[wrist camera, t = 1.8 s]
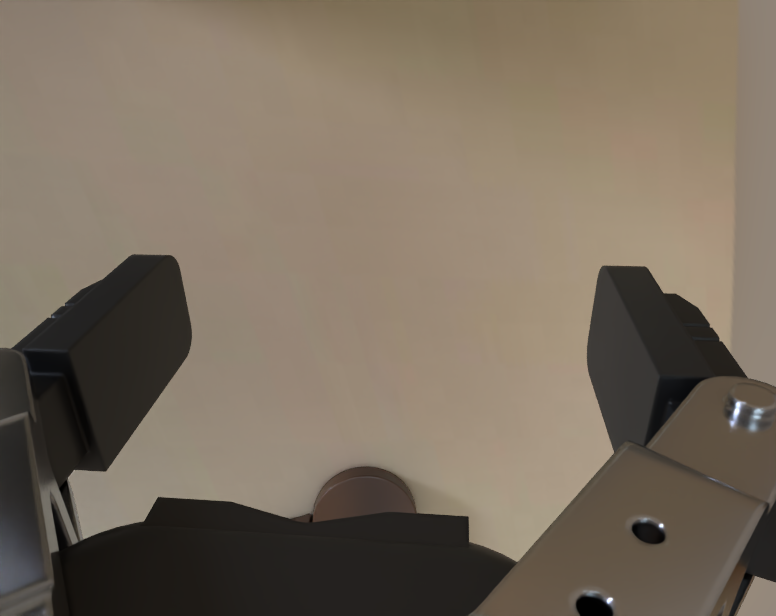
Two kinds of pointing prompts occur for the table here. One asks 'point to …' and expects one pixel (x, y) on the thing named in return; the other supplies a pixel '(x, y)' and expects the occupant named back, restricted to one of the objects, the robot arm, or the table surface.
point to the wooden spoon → (361, 495)
